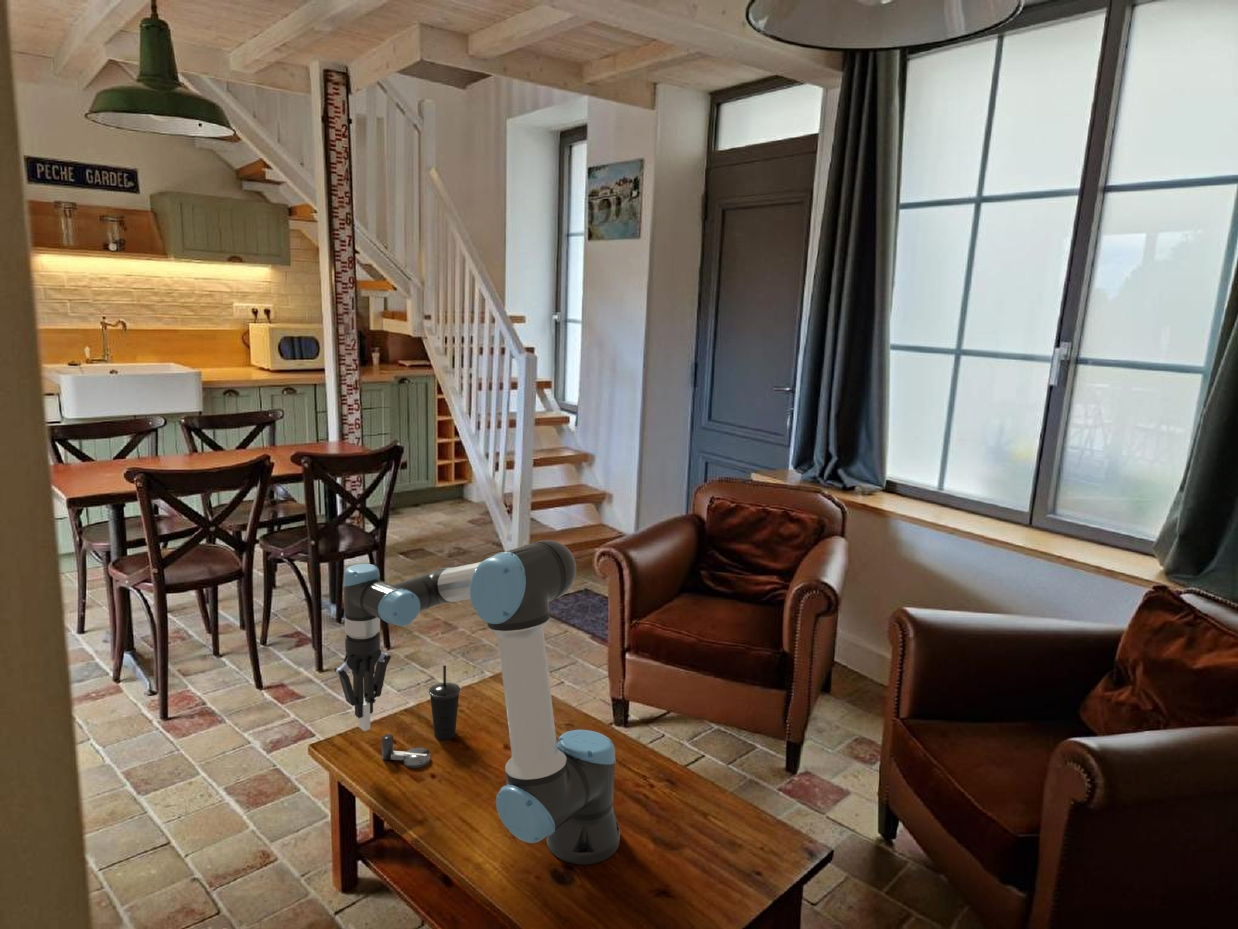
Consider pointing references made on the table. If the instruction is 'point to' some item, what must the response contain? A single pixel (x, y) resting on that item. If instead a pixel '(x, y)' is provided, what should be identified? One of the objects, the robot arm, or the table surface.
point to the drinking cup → (444, 708)
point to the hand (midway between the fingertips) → (364, 727)
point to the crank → (404, 754)
